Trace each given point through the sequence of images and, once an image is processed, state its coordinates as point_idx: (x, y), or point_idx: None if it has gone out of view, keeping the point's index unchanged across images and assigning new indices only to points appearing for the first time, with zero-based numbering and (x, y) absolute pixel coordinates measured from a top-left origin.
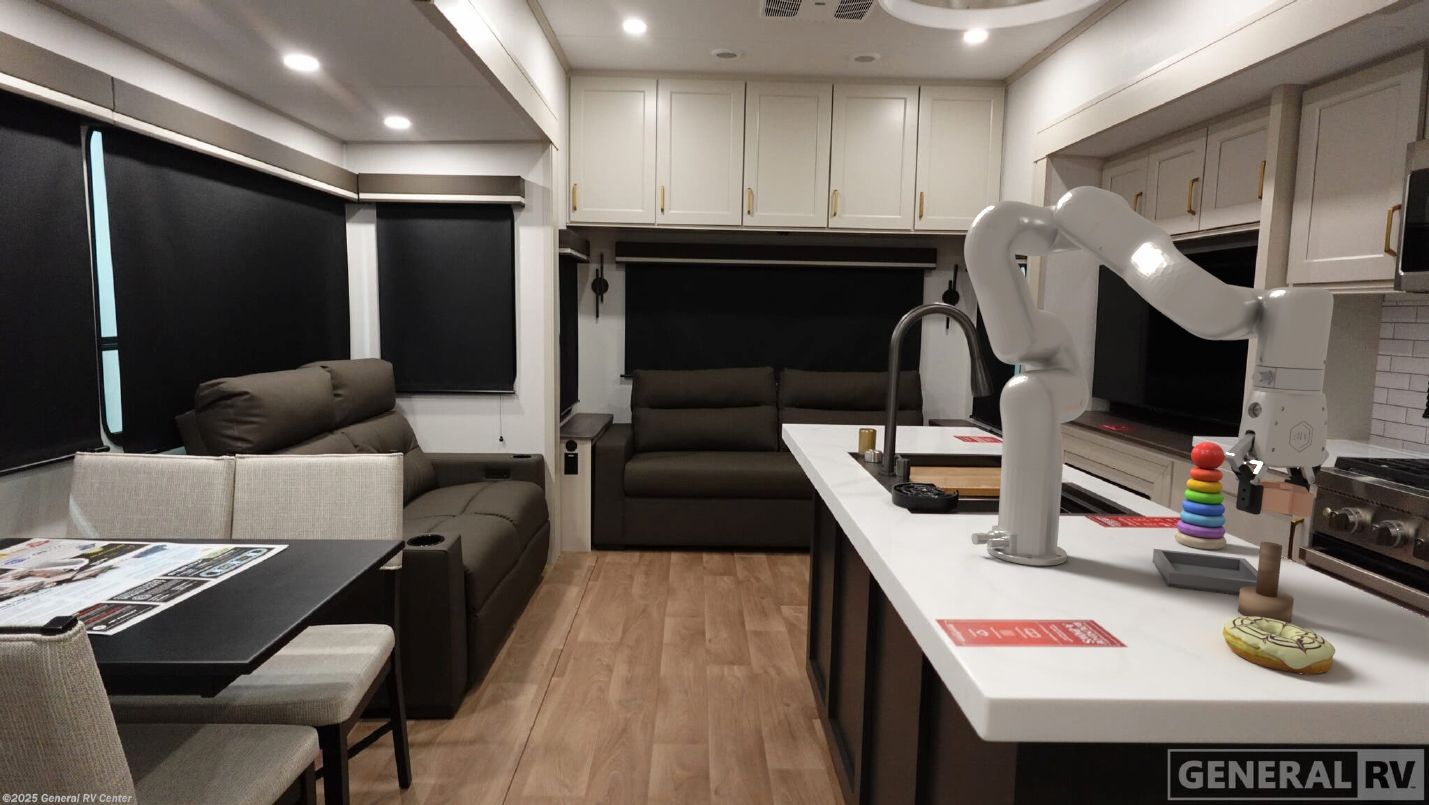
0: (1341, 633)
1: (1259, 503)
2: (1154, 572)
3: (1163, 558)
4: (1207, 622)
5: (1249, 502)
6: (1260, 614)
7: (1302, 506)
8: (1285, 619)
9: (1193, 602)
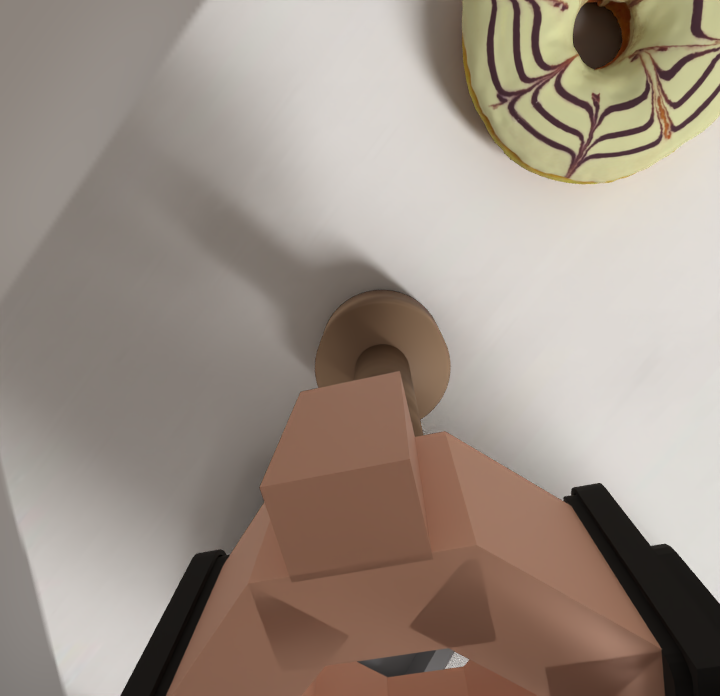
0: (255, 231)
1: (629, 528)
2: None
3: (441, 658)
4: (583, 294)
5: (676, 558)
6: (427, 312)
7: (393, 404)
8: (368, 293)
9: (511, 431)
